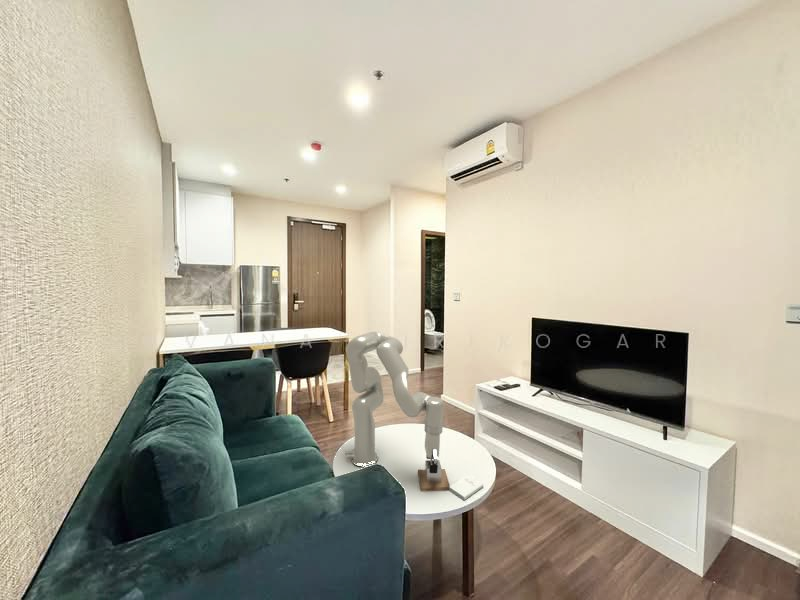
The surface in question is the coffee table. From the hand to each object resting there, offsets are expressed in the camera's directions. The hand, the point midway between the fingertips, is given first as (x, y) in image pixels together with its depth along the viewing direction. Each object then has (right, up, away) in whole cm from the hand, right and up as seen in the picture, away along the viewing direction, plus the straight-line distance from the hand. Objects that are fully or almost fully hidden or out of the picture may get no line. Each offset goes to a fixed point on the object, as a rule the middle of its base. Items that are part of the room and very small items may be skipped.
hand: (431, 465), depth 138 cm
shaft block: (+1, -7, 0) cm, 7 cm away
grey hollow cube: (+1, -5, 0) cm, 5 cm away
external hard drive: (+14, -8, -4) cm, 16 cm away
